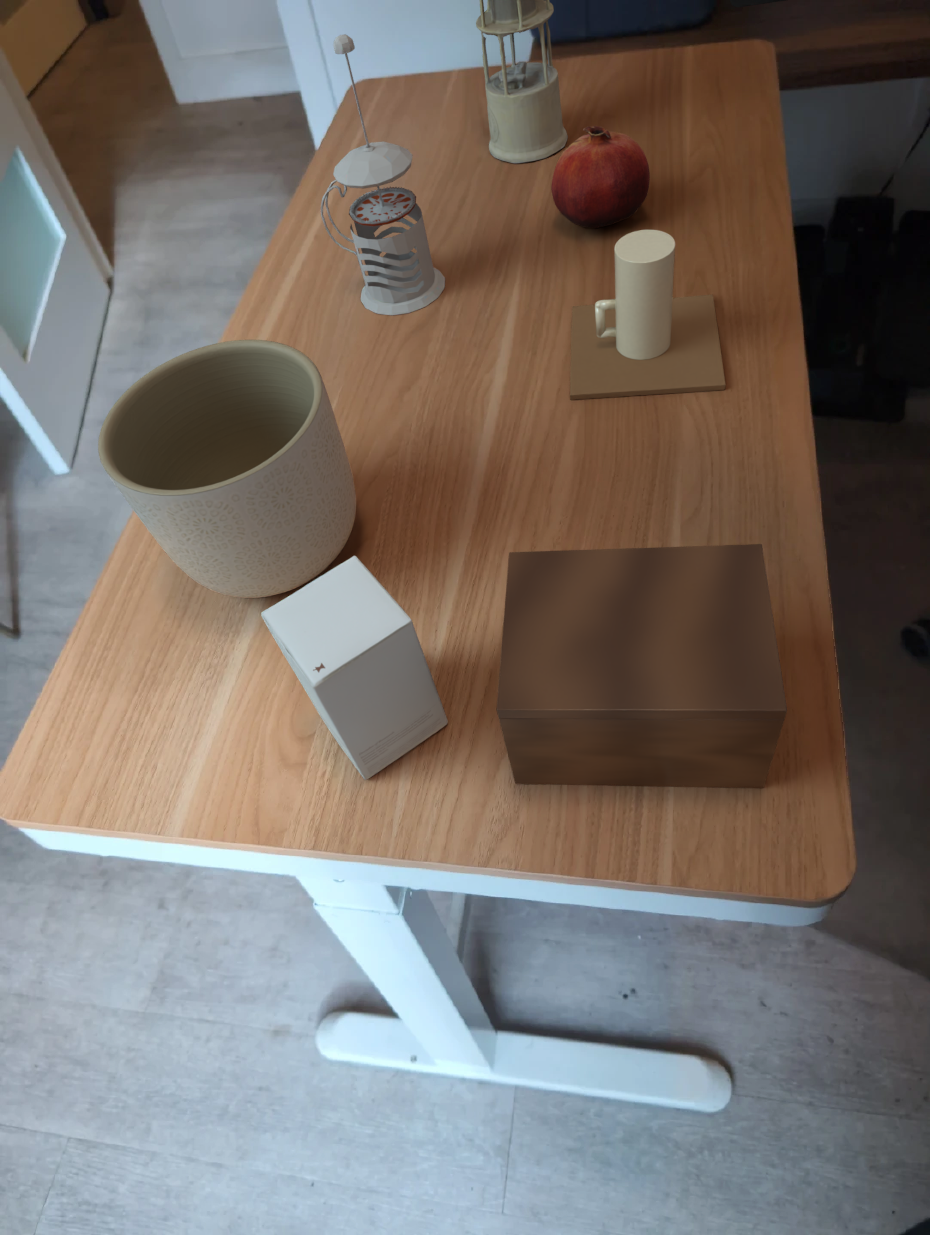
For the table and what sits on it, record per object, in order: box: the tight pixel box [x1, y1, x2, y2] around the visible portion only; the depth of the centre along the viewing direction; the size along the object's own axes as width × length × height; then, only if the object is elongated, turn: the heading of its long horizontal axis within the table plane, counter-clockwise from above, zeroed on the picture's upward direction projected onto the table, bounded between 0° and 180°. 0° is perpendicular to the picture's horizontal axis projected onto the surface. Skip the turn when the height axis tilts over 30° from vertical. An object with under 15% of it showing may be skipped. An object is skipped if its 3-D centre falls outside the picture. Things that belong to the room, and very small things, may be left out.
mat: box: [569, 293, 726, 401], centre depth 81 cm, size 14×14×1 cm
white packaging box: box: [260, 555, 449, 781], centre depth 56 cm, size 7×7×13 cm
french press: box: [320, 33, 446, 316], centre depth 84 cm, size 10×12×25 cm
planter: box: [97, 339, 357, 599], centre depth 67 cm, size 17×17×15 cm
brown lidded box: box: [496, 543, 788, 789], centre depth 54 cm, size 16×12×10 cm
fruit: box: [550, 125, 651, 229], centre depth 92 cm, size 11×10×10 cm
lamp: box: [475, 0, 569, 164], centre depth 98 cm, size 10×13×30 cm
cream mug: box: [594, 229, 676, 360], centre depth 77 cm, size 7×5×10 cm
